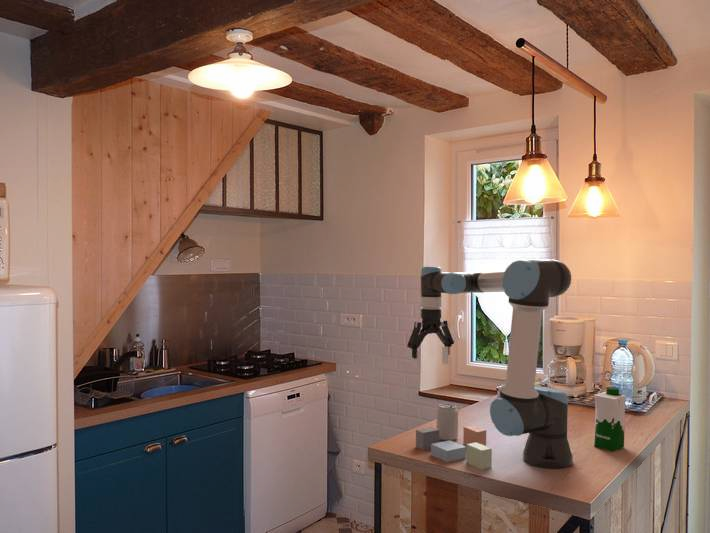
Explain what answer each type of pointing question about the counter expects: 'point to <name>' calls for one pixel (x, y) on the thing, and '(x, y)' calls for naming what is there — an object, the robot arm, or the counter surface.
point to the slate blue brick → (448, 451)
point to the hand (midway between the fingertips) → (431, 365)
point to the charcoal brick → (426, 437)
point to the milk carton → (609, 419)
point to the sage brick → (479, 455)
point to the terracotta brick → (474, 435)
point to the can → (447, 422)
